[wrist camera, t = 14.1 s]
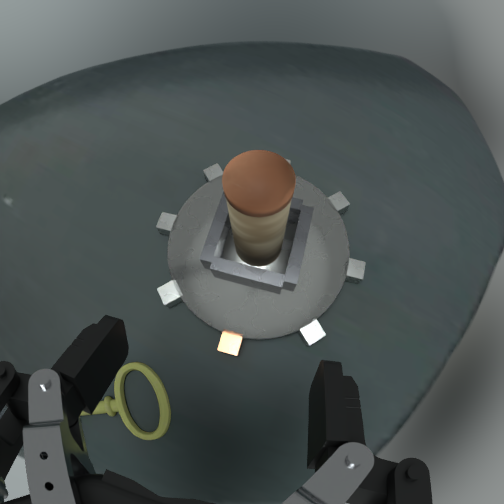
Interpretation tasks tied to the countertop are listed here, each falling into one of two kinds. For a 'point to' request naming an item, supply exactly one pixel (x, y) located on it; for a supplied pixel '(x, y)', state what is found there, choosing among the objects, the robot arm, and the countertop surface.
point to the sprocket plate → (258, 278)
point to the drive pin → (258, 204)
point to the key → (120, 405)
